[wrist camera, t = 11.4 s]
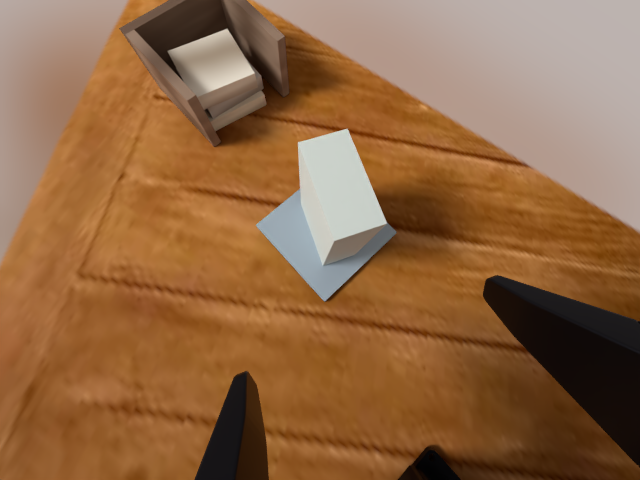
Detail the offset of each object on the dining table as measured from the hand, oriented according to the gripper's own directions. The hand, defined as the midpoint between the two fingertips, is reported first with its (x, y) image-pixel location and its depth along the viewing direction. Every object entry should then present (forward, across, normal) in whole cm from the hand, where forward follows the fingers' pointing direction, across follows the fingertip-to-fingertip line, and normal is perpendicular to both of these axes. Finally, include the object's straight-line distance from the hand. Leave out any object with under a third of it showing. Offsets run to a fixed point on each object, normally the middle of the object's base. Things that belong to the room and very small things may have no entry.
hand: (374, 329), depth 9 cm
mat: (+15, -2, +5) cm, 15 cm away
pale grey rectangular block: (+14, -2, +4) cm, 15 cm away
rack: (+27, +3, -7) cm, 28 cm away
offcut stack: (+26, +3, -7) cm, 27 cm away
